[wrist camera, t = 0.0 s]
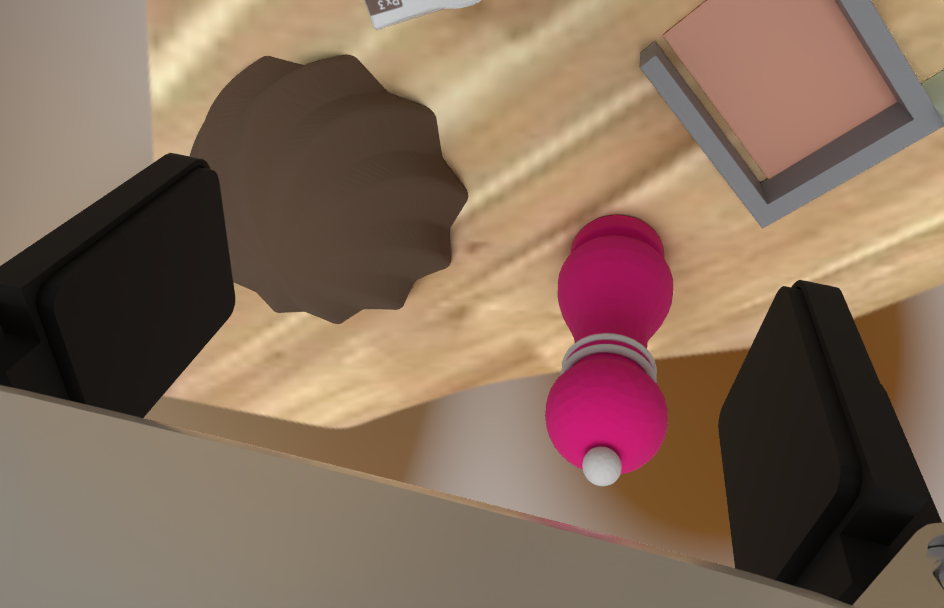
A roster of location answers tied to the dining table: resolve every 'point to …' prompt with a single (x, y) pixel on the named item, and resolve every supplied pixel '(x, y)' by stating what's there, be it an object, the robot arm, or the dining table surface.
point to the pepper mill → (611, 349)
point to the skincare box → (408, 9)
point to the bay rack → (794, 94)
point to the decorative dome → (328, 187)
